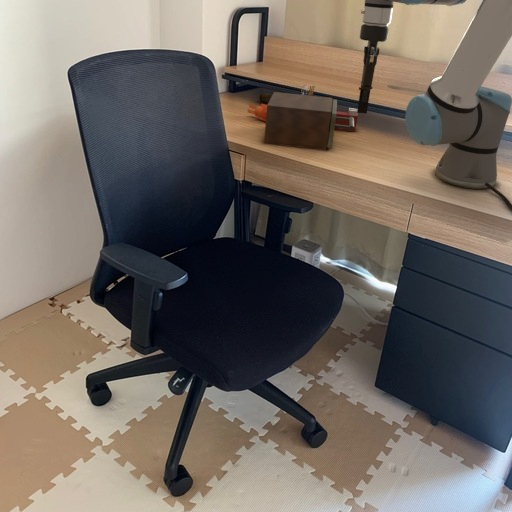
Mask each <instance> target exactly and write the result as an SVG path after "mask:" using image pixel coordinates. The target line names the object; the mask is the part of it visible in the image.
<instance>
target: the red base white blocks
mask: <svg viewBox="0 0 512 512" xmlns="http://www.w3.org/2000/svg"><path fill="white" fill-rule="evenodd" d="M357 109H358V108H352V107H348V111H347V112H346V111H337V110H336V117H345V118H350V117H353V118H354V131H353V132H354V133H355V132H356V130H357V124H358V118H359V113H357ZM335 124H337V125H347V126H349V122H348V121H339V120H335ZM335 130H337V131H346V132H351V131H350V130H348V129H339V128H334V131H335Z"/></svg>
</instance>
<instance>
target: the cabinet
mask: <svg viewBox="0 0 512 512" xmlns="http://www.w3.org/2000/svg"><path fill="white" fill-rule="evenodd" d="M271 95H272V97H271V99H270V101H269V103H268V104H266V105H267V114H266V121H265V129H264V130H265V131H264V140H263V141H264V144H268V145H269V144H270V145H278V146H287V147H295V148H302V149H303V148H304V149H305V148H306V149H312V150H313V149H315V150H320V151H321V150H322V151H327V139H328V131H329V124H330V118H331V111H332V104H333V97H327V96H317V95H311V96H310V95H307V94H298V93H290V92H289V93H288V92H280V91H279V92H278V91H274V92H273V94H271Z"/></svg>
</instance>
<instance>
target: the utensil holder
mask: <svg viewBox="0 0 512 512" xmlns="http://www.w3.org/2000/svg"><path fill="white" fill-rule="evenodd" d="M301 87H302V88H304V87H305V95H307V94H308V95H309V96H314V95H313V94H314V91H315V85H310V86H309V89H308V87H307V85H302V86H301ZM300 93H301V94H303V89H301V92H300Z"/></svg>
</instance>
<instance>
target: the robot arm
mask: <svg viewBox="0 0 512 512" xmlns="http://www.w3.org/2000/svg"><path fill="white" fill-rule="evenodd" d="M466 1H467V0H364V6H363V8H364V9H361V11H360V14H361V15H362V19H361V21H362V23H363V24H361V25H360V32H359V39H360V40H362V41H366V42H367V46H364V47H363V59H362V60H363V61H362V63H363V66H362V67H363V68H362V74H361V75H362V77H361V81H360V86H359V87H358V91H359V96H358V102H357V103H358V104H357V108H356V109H357V113H358V114H364V115H365V114H366V115H367V114H368V108H369V101H370V95H371V90H373V86H372V85H373V81H374V75H375V74H374V73H375V68H376V65H377V63H378V56H379V55H380V47H378V45H379V42H381V43H384V42H387V41H388V40H389V38H388V37H389V32H390V26H389V25H390V24H392V23H391V22H392V17H393V10H394V3H399V4H404V5H406V6H417V5H432V6H433V5H434V6H435V5H437V6H447V7H453V6H460V5H463V4H464V3H466ZM468 25H469V26H468V27H467V28H466V31H465V32H464V34H463V37H462V38H461V40H460V42H459V44H458V45H457V48H456V49H455V51H454V53H453V55H452V57H451V59H450V60H449V62H448V64H447V65H446V68H445V70H444V71H443V73H442V75H441V76H438V77H436V78H434V79H432V80H431V82H430V83H429V86H428V87H427V89H426V91H425V92H424V94H422V93H420V94H418V95H416V96H414V97H412V98H411V99H410V100H409V102H408V103H407V106H406V109H405V114H404V115H405V117H404V118H405V125H406V130H407V132H408V134H409V136H410V138H411V139H412V141H414V142H415V143H416V144H418V145H421V146H430V147H435V146H438V145H448V147H447V148H446V150H445V151H444V153H443V154H442V156H441V157H440V159H439V161H438V162H437V164H436V166H435V170H434V174H435V176H436V177H437V178H438V179H440V180H441V181H443V182H445V183H447V184H449V185H452V186H456V187H460V188H464V189H472V190H473V189H474V190H485V189H489V190H491V191H492V192H494V194H496V195H497V196H498V197H500V198H501V199H502V200H503V201H504V202H505V203H506V205H507V206H508V207H509V208H510V209H511V210H512V202H510V200H509V199H508V198H507V196H505V195H504V194H503V193H502V192H501V191H499V190H498V189H497V188H495V187H494V186H496V182H497V178H498V168H497V167H498V165H497V164H498V163H497V154H498V150H499V146H500V143H501V140H502V137H503V134H504V131H505V129H506V125H507V123H508V119H509V115H510V114H511V107H512V96H511V95H510V94H509V93H506V92H504V91H500V90H497V89H493V88H490V87H485V86H482V85H483V84H484V83H485V81H486V79H487V78H488V75H490V73H491V71H492V69H493V67H494V66H495V65H496V63H497V61H498V59H499V57H500V56H501V54H502V53H503V51H504V50H505V48H506V46H507V45H508V43H509V41H510V40H511V38H512V0H482V1H481V3H480V4H479V7H478V9H477V10H476V12H475V14H474V16H473V18H472V20H471V22H470V24H468Z"/></svg>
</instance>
